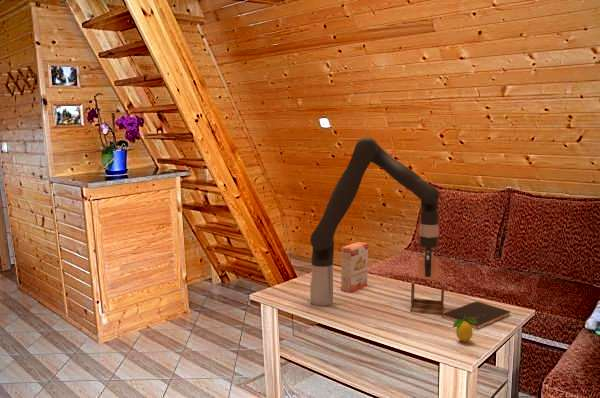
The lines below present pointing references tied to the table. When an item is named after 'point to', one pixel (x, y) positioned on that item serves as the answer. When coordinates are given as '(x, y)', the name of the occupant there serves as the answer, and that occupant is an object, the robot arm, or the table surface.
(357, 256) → the cracker box
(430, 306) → the track frame
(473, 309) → the hardcover book
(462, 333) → the lemon
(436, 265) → the door panel
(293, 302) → the table surface
